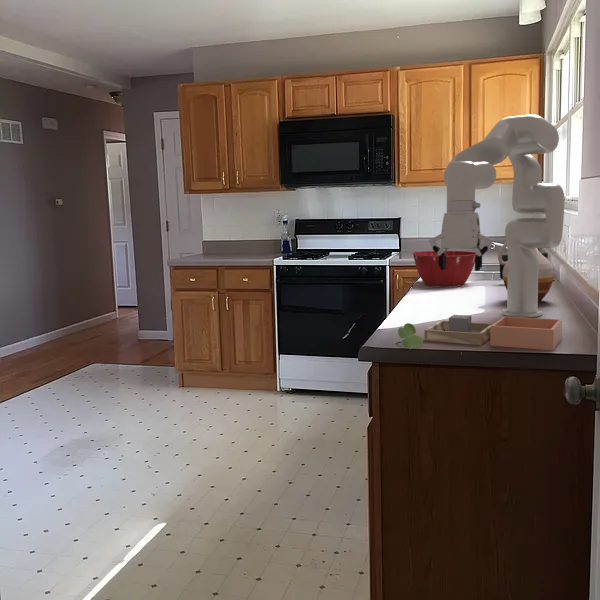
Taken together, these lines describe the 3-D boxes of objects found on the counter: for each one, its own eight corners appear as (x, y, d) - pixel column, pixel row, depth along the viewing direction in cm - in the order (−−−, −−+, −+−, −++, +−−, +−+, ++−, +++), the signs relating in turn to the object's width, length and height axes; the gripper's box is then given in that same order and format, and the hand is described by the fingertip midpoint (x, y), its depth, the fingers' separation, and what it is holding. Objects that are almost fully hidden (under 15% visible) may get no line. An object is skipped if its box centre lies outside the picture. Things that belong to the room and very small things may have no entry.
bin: (503, 334, 186) (503, 316, 186) (561, 338, 179) (562, 319, 178) (490, 345, 173) (490, 325, 172) (553, 350, 165) (553, 329, 164)
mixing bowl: (482, 283, 300) (482, 250, 297) (471, 292, 274) (471, 255, 272) (421, 282, 311) (421, 250, 309) (405, 290, 285) (405, 255, 283)
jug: (497, 306, 236) (498, 222, 231) (496, 299, 253) (497, 220, 248) (555, 306, 230) (558, 221, 226) (550, 299, 247) (552, 219, 243)
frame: (441, 330, 195) (441, 320, 195) (494, 334, 187) (494, 323, 187) (424, 340, 182) (424, 330, 181) (481, 344, 174) (481, 333, 174)
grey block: (453, 335, 188) (453, 314, 187) (471, 336, 185) (471, 315, 185) (448, 338, 184) (448, 317, 183) (466, 340, 181) (466, 318, 180)
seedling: (406, 362, 177) (421, 353, 171) (382, 348, 175) (395, 339, 170) (411, 341, 181) (425, 331, 176) (387, 327, 179) (401, 317, 174)
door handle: (548, 286, 281) (548, 249, 279) (500, 288, 286) (499, 251, 284) (547, 285, 284) (547, 248, 282) (499, 287, 289) (498, 251, 287)
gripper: (496, 206, 178) (494, 269, 181) (434, 208, 187) (433, 268, 189) (489, 207, 172) (488, 272, 174) (425, 208, 180) (425, 270, 182)
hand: (460, 270), depth 182 cm, fingers open, 9 cm apart
